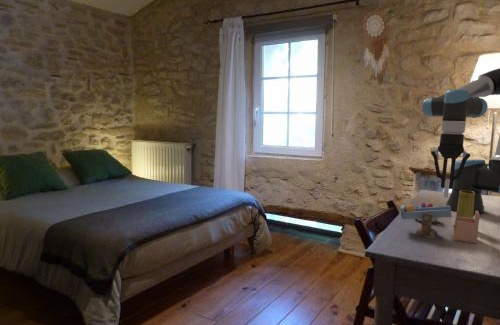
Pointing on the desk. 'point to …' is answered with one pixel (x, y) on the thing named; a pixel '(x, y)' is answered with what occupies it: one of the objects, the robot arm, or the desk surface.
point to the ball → (409, 208)
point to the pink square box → (466, 229)
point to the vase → (465, 204)
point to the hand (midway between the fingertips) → (445, 196)
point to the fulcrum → (426, 227)
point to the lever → (418, 213)
